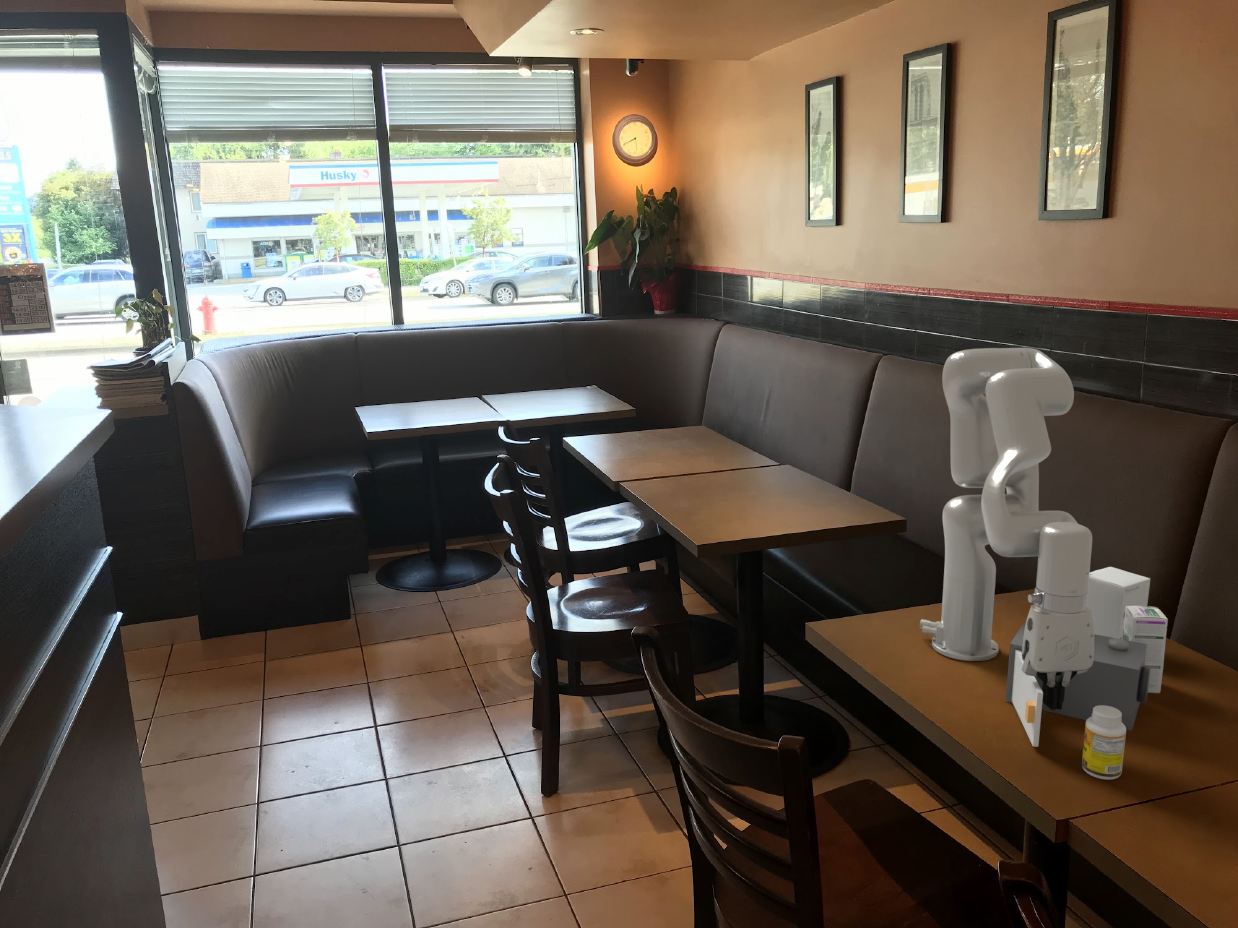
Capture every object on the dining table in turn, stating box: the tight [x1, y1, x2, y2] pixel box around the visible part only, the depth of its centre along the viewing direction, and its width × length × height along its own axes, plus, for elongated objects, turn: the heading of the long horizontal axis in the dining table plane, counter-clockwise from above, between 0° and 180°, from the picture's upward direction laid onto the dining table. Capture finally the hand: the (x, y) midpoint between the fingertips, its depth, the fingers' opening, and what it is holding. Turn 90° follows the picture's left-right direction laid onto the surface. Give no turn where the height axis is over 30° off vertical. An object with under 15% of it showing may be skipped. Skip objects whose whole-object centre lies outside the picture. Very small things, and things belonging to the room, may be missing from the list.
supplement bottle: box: [1081, 705, 1127, 781], centre depth 148 cm, size 6×6×10 cm
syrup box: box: [1123, 605, 1169, 694], centre depth 175 cm, size 6×6×14 cm
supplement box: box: [1086, 566, 1151, 639], centre depth 192 cm, size 9×9×15 cm
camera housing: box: [1005, 620, 1150, 732], centre depth 170 cm, size 21×12×12 cm, turn 56°
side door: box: [1011, 650, 1043, 748], centre depth 162 cm, size 16×2×9 cm, turn 170°
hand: (1052, 705), depth 158 cm, fingers closed
